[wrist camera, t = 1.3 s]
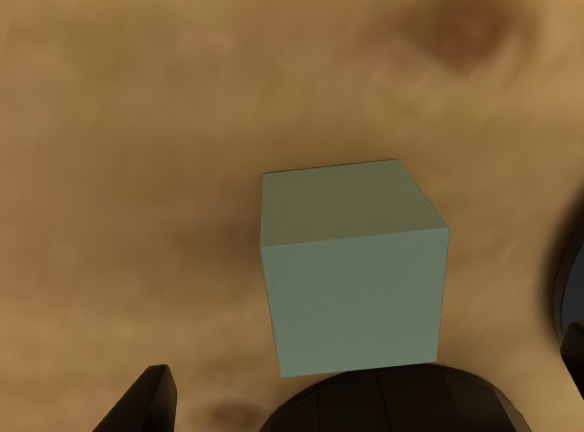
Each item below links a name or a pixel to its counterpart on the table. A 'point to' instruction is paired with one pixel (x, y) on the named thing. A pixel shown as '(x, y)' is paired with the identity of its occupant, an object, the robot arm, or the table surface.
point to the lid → (570, 285)
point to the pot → (399, 403)
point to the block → (351, 268)
